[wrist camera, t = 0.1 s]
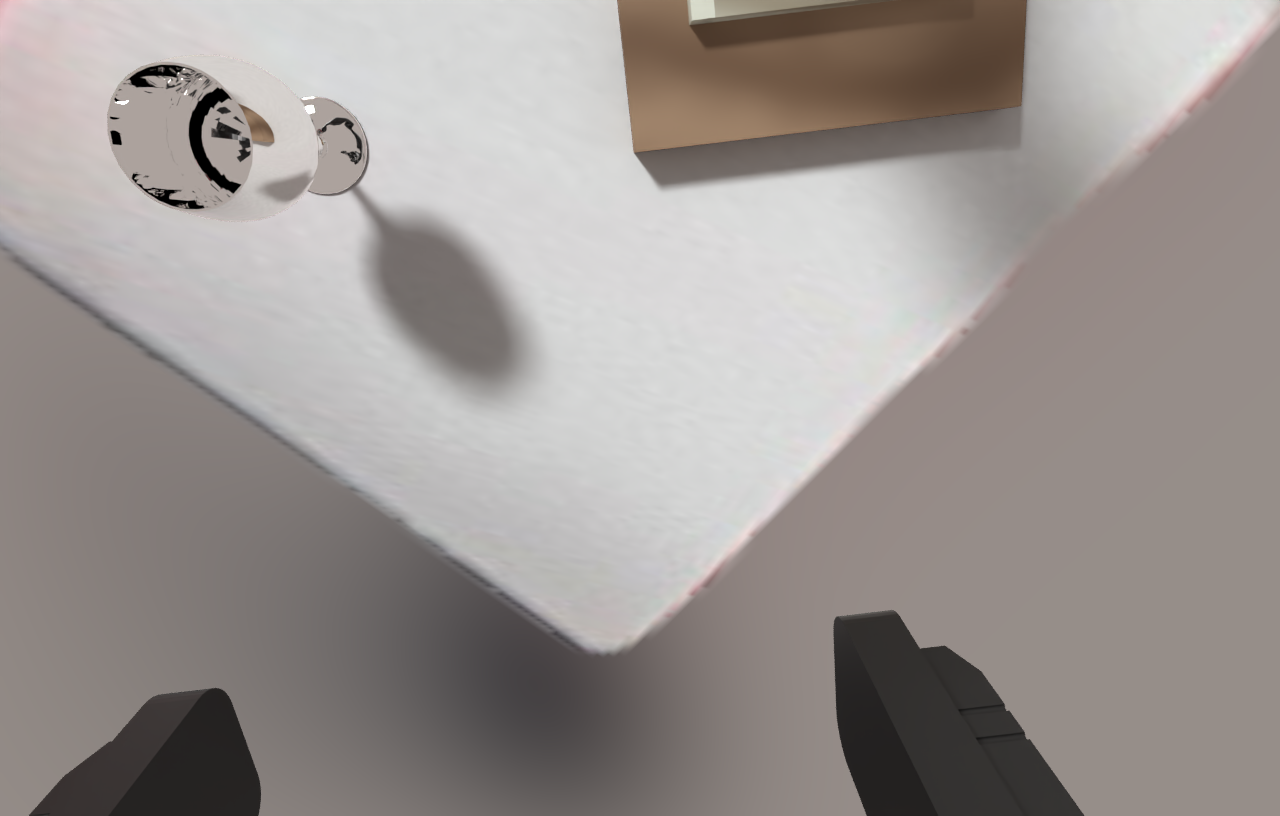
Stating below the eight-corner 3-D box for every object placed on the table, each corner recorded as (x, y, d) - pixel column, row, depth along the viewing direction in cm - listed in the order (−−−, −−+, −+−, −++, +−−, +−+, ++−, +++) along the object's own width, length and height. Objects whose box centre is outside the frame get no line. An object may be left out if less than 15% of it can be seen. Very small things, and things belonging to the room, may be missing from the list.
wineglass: (404, 139, 35) (305, 129, 24) (337, 232, 37) (213, 264, 25) (301, 53, 34) (144, -1, 23) (236, 152, 35) (56, 148, 24)
